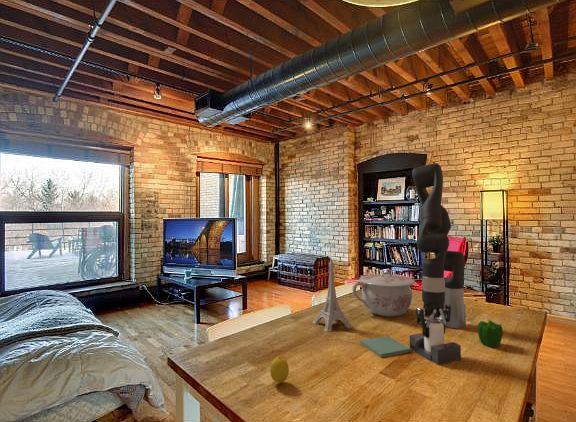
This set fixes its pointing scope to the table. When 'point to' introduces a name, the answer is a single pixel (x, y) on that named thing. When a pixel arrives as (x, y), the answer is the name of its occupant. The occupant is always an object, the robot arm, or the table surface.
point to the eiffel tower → (331, 305)
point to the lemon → (279, 369)
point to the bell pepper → (490, 333)
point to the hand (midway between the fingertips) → (433, 335)
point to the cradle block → (436, 350)
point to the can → (434, 334)
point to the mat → (385, 346)
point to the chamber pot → (385, 293)
